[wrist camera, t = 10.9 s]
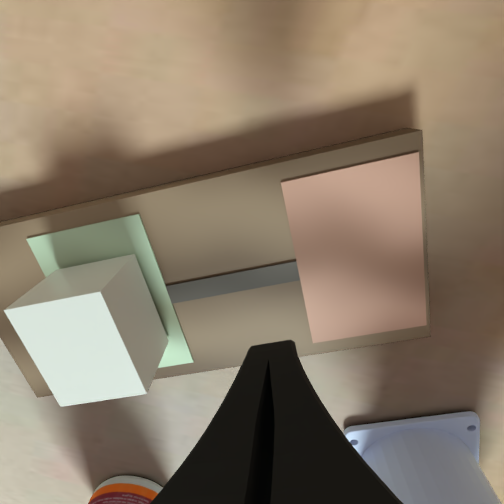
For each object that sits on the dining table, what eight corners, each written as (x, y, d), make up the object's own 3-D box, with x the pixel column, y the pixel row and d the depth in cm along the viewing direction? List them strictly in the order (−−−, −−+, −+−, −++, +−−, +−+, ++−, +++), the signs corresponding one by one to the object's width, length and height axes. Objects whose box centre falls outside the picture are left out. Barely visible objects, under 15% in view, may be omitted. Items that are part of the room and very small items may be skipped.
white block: (168, 341, 18) (146, 393, 14) (97, 353, 18) (60, 406, 15) (134, 253, 16) (100, 291, 13) (55, 269, 16) (3, 310, 13)
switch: (418, 319, 19) (431, 337, 17) (52, 378, 21) (36, 398, 20) (407, 128, 15) (423, 130, 13) (-34, 229, 18) (-62, 241, 16)
